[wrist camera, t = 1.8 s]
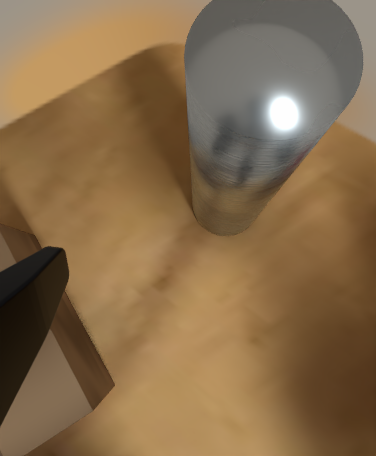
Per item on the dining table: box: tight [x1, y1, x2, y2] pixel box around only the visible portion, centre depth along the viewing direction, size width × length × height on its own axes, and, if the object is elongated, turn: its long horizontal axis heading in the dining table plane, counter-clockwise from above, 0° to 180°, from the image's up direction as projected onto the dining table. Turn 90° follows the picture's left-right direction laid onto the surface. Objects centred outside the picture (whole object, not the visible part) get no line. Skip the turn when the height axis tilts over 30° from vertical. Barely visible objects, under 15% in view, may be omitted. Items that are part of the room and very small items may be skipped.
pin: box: [184, 0, 363, 236], centre depth 14 cm, size 4×4×13 cm
